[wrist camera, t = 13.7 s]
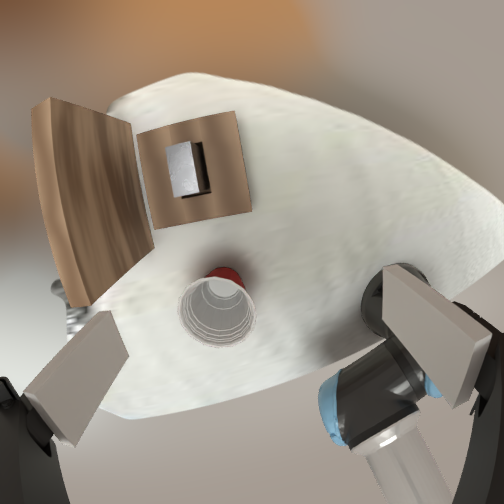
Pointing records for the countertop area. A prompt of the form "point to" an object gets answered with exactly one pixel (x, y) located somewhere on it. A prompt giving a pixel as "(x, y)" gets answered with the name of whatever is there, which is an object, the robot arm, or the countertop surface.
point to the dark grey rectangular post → (187, 168)
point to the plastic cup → (217, 309)
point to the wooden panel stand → (122, 188)
